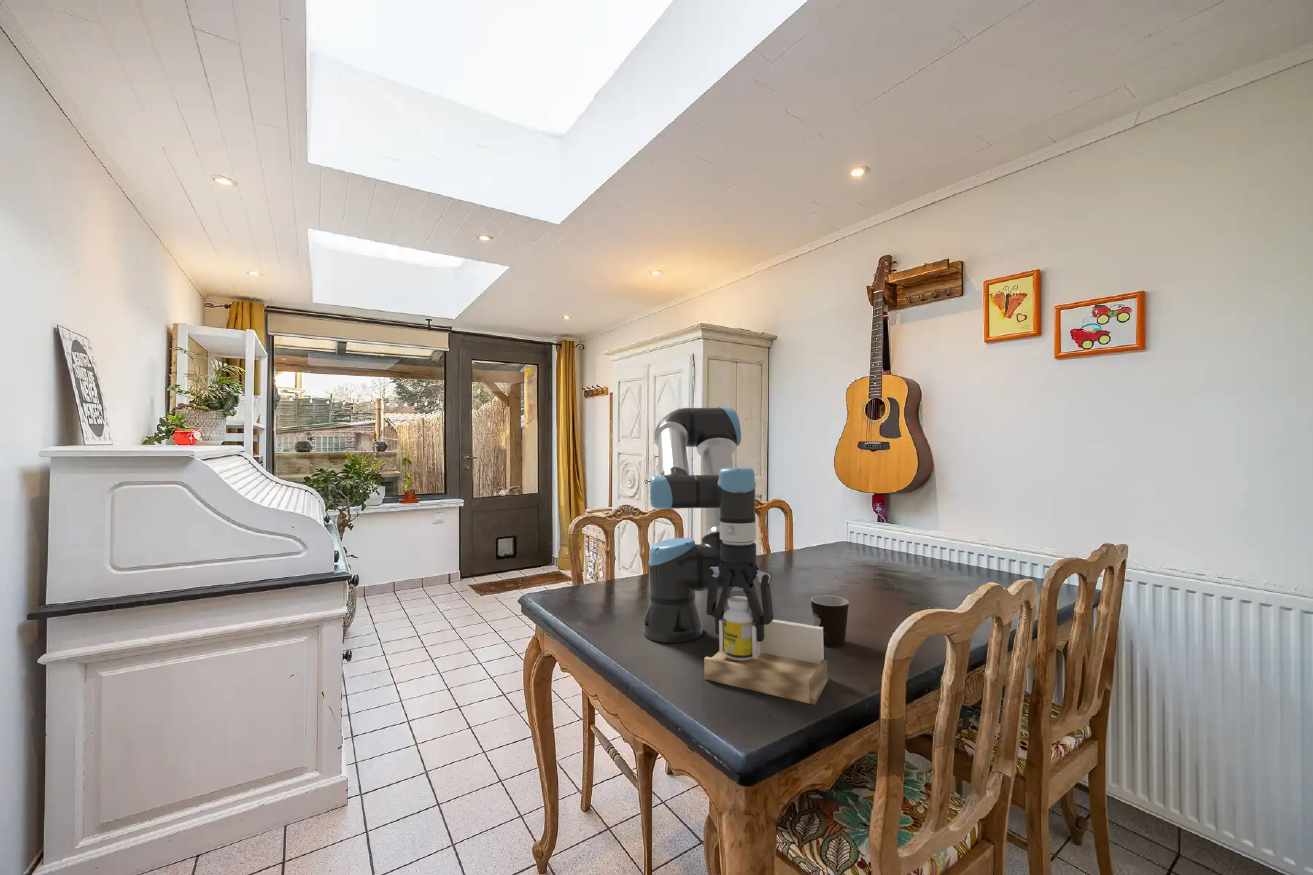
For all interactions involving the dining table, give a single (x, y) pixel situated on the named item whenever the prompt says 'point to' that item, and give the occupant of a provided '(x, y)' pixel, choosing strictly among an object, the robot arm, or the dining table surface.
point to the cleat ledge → (770, 675)
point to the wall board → (793, 641)
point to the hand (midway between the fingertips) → (739, 652)
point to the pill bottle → (738, 629)
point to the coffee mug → (831, 618)
